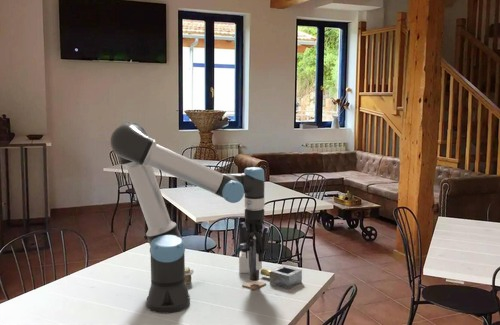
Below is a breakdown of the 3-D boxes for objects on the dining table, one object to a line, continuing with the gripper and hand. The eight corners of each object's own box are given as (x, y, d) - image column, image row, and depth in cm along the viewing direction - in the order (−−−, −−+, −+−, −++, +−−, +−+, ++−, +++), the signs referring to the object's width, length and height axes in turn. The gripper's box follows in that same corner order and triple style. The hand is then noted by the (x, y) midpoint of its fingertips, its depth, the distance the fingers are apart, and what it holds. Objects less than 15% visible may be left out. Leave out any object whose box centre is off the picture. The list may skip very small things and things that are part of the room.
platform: (207, 287, 194) (207, 271, 193) (160, 293, 188) (160, 276, 188) (200, 277, 205) (200, 261, 205) (156, 282, 200) (155, 266, 199)
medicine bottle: (256, 273, 209) (256, 245, 207) (239, 273, 209) (239, 245, 208) (256, 267, 216) (256, 240, 214) (239, 267, 216) (239, 240, 215)
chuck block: (289, 288, 192) (289, 276, 192) (255, 279, 202) (255, 267, 201) (301, 282, 199) (301, 269, 199) (268, 273, 209) (268, 261, 208)
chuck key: (253, 276, 198) (253, 237, 196) (260, 279, 196) (261, 238, 193) (237, 284, 190) (237, 242, 188) (245, 286, 188) (245, 244, 186)
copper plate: (254, 290, 191) (254, 288, 191) (242, 286, 195) (242, 284, 195) (265, 284, 196) (265, 283, 196) (253, 281, 200) (253, 279, 200)
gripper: (231, 207, 194) (231, 266, 197) (266, 213, 184) (266, 275, 187) (243, 203, 200) (243, 261, 203) (278, 209, 189) (277, 269, 193)
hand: (254, 267), depth 195 cm, fingers closed on chuck key, 3 cm apart
